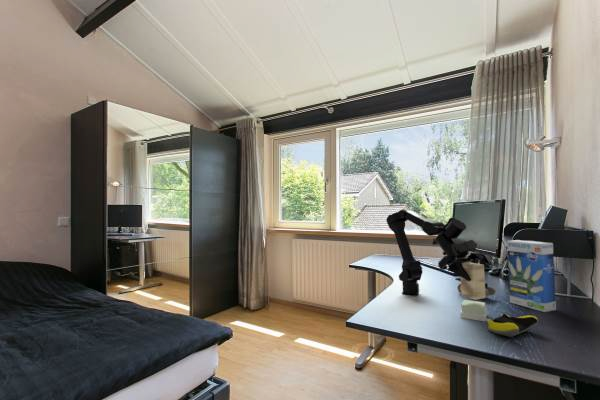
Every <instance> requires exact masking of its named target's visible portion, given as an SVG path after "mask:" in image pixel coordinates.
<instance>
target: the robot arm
mask: <svg viewBox="0 0 600 400" xmlns="http://www.w3.org/2000/svg"><path fill="white" fill-rule="evenodd" d="M407 221H409V222H411V223H413V224H415V225H416V226H418V227H420V228H421V230H422V232H424V234H426V235H427V236H429V237H434V236H436V237H435V238H432V240H433V241H432V242H431V243H432V245H433V246H434V245H438V246H439V247H440V249H441V250H442V255H443V257H442V258H441V259H440V260H439V262H438V263H437V265H438V268H439V269H440V270H441V271H444V270H445V271H446V270H447V271H448V272H450V273H452V274H454V275H457V276H459V278H461V277H462V278H464V279H466V280H467V281H471V278H470V277H469V275H468V274H467V272H466V271H465V269H464V268H463V266H462V263H476V264H479V262H481V260H483V259H484V255H483V254H482V253H481V252H478V251H476V252H471V251H473V250H474V251H475V250H477V248H478V244H477V242H475V240H474V239H469V240H467V241H463V242H461V243H457V242H456V241H455V240H457V239H458V238H459V237H460V236H461V235H462V234H463V233H464V232H465V230H466V229H467V225H466V224H465V222H462V221H461V220H459V219H457V218H456V217H450V218H449V219H448V221H447V222H446V223H445V224H444V223H443V222H442V221H439V220H436V219H435V220H434V219H429V218H426V217H424V216H423V215H421V214H419V213H418V212H415V211H413V210H412V209H411V208H401V210H398V211H397V212H394V213H391V214H389V215H387V217H386V224H387V226H388V228H389V229H390V230H391V231H392V232H393V233H394V235H395V239H396V240H395V241H396V242H397V245H398V248H399V252H400V254H401V258H402V264H401V269H402V271H401V272H400V273H399V274H398V280H399V281H401V282H402V292H401V295H406V296H407V295H409V296H417V295H418V294H419V293H420V284H419V282H418V281H420V280H421V278H422V275H423V267H422V265H421V261H420V260H416V258H415V257H414V255H413V252H412V248H411V246H410V243H409V241H408V237H407V233H406V231H405V229H406V228H405V227H406V222H407ZM470 252H471V253H470ZM467 255H468V256H467Z"/></svg>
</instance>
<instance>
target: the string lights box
mask: <svg viewBox="0 0 600 400" xmlns="http://www.w3.org/2000/svg"><path fill="white" fill-rule="evenodd" d="M506 242H507V243H506V246H507V262H508V263H507V266H508V288H509V289H508V290H509V292H508V293H509V303H511V304H513V305H514V304H515V305H517V306H521V307H525V308H529V309H532V310H536V311H539V312H543V313H548V312H552V311H556V310H557V305H556V304H557V302H556V286H555V284H556V283H555V282H556V279H555V263H554V259H555V258H554V257H555V256H554V243H553V242H544V241H535V240H520V239H515V240H514V239H512V240H507V241H506Z"/></svg>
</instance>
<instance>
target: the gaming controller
mask: <svg viewBox="0 0 600 400" xmlns="http://www.w3.org/2000/svg"><path fill="white" fill-rule="evenodd" d="M486 322H487V323H488V325H487V327H488V328H487V329H488V330H489V332H492V333H494V334H497V335H501V336H504V337H505V336H506V337H510V338H513V337H515V336H517V335H519V334H522V333H524V332H526V331H528V330H530V329H533V328H535V327H536V326H537V325H538V324H539V320H538V318H537V317H536V316H535V315H529V314H527V315H523V316H517V317H514V316H510V315H508V314H506V313H500V316H499V317H495V318H493V320H492V319H491V318H487V320H486Z"/></svg>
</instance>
